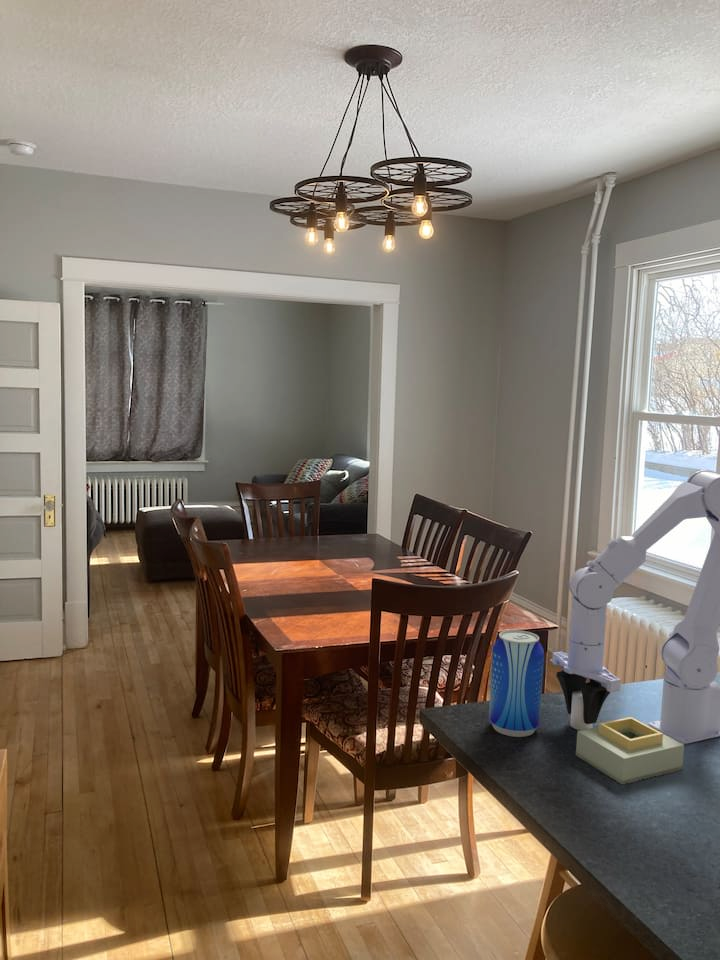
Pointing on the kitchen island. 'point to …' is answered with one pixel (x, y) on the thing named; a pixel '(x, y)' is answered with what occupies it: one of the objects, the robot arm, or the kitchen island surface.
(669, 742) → the square stacking base
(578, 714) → the pellet
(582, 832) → the kitchen island surface
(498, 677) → the beer can
